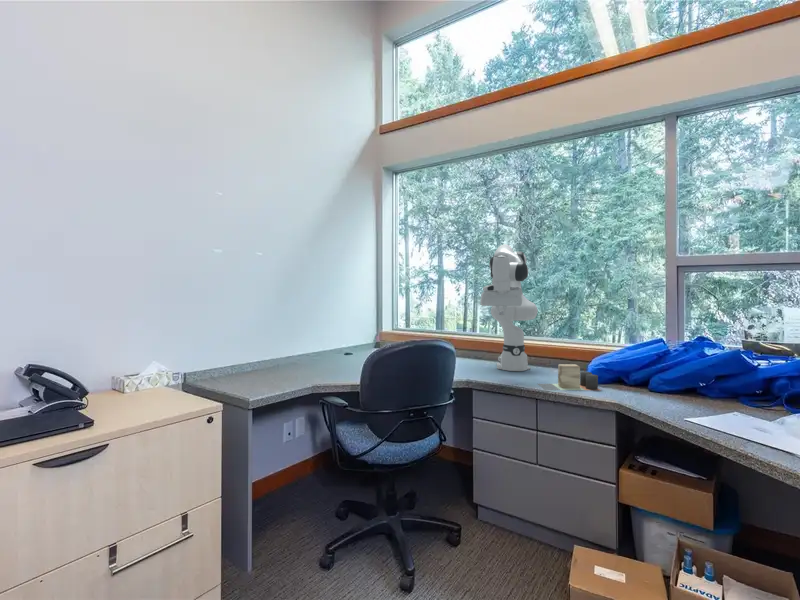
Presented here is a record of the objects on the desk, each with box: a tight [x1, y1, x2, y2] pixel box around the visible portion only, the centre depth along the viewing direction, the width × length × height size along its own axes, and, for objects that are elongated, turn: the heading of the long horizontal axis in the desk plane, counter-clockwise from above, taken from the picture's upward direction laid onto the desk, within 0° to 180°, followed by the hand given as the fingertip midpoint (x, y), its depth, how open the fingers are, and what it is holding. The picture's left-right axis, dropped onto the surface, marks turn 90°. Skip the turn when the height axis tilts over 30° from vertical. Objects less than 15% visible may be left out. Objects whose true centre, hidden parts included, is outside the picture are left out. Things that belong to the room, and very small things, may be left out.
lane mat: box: [537, 383, 601, 391], centre depth 185 cm, size 12×25×1 cm, turn 88°
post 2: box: [586, 373, 599, 391], centre depth 181 cm, size 5×5×6 cm
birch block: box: [557, 363, 581, 388], centre depth 184 cm, size 5×8×10 cm, turn 88°
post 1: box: [580, 371, 593, 387], centre depth 187 cm, size 5×5×6 cm
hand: (501, 314), depth 200 cm, fingers closed
